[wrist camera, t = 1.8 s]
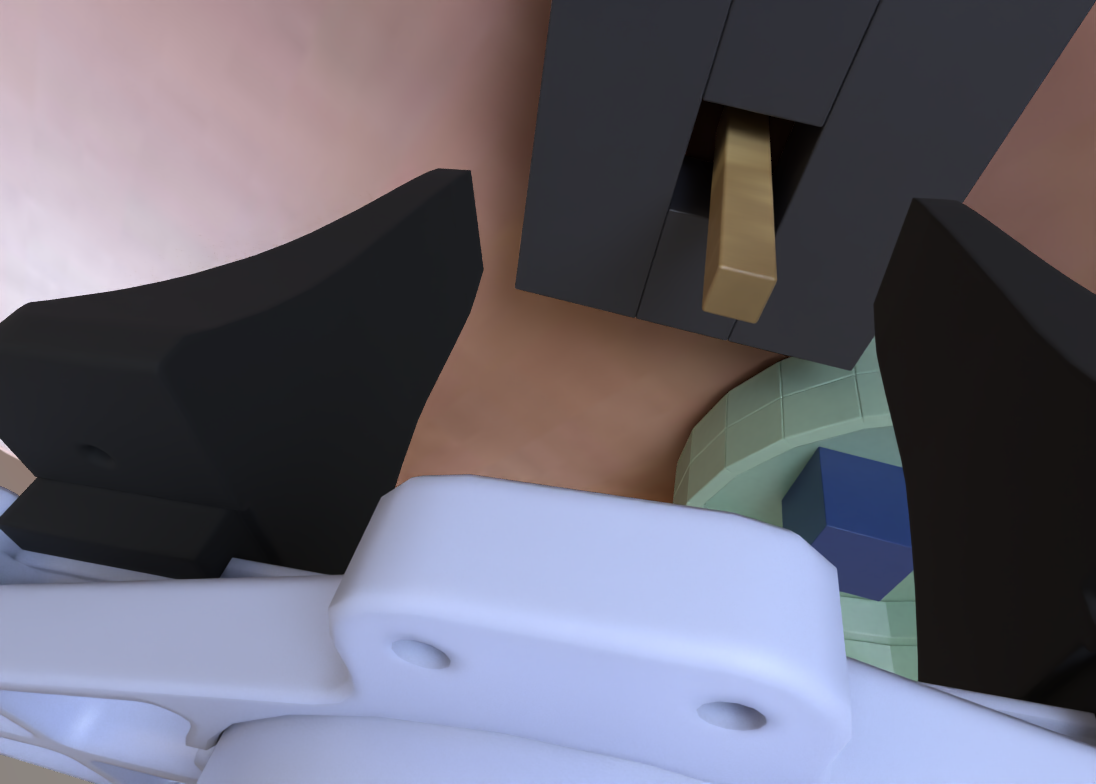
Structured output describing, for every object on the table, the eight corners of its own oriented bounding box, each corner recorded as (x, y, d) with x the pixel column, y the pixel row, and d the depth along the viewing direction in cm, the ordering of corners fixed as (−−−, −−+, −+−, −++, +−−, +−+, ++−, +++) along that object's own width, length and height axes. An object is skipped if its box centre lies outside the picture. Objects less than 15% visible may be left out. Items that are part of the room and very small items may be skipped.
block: (914, 470, 27) (932, 553, 25) (867, 522, 30) (879, 602, 28) (818, 445, 28) (826, 525, 25) (781, 500, 31) (784, 577, 28)
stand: (1055, -61, 16) (1111, -21, 13) (840, 305, 23) (851, 372, 21) (596, -158, 16) (569, -138, 14) (537, 232, 24) (514, 289, 22)
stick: (768, 101, 19) (779, 280, 13) (753, 141, 20) (756, 326, 14) (728, 92, 19) (718, 265, 13) (715, 132, 20) (700, 312, 14)
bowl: (1340, 397, 22) (1439, 508, 19) (984, 639, 36) (1007, 726, 33) (765, 258, 23) (768, 343, 20) (635, 547, 37) (624, 623, 33)
